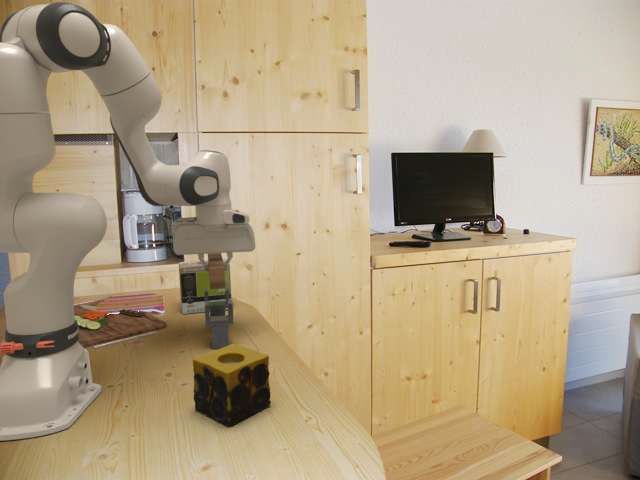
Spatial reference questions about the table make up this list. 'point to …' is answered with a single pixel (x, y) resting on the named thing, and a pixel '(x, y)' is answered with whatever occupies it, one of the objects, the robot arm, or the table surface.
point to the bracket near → (219, 326)
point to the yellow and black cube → (231, 384)
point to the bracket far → (218, 304)
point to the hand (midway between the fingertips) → (216, 270)
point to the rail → (216, 271)
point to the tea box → (198, 287)
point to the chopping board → (112, 325)
